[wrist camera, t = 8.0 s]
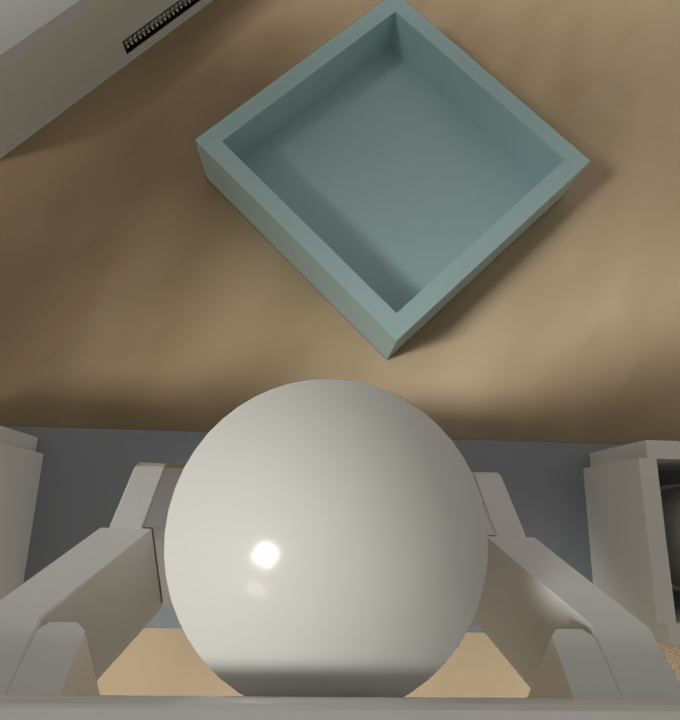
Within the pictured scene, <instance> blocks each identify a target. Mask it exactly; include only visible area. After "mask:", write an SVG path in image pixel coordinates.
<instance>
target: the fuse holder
mask: <svg viewBox="0 0 680 720" xmlns="http://www.w3.org/2000/svg"><path fill="white" fill-rule="evenodd" d="M208 433H209V432H195V431H162V430H128V429H94V428H61V427H27V426H0V600H1V599H3V598H4V597H5V596H7V595H8V594H10V593H11V592H12V591H14V590H15V589H16V588H18V587H19V586H21V585H22V584H23V583H25V582H26V581H28V580H29V579H30V578H32V577H33V576H34V575H36V574H37V573H39V572H40V571H41V570H43V569H44V568H46V567H47V566H48V565H50V564H51V563H52V562H54V561H55V560H57V559H58V558H59V557H61V556H62V555H63V554H65V553H66V552H68V551H69V550H70V549H72V548H73V547H75V546H76V545H77V544H79V543H80V542H81V541H83V540H84V539H86V538H87V537H88V536H90V535H91V534H92V533H94V532H95V531H97V530H98V529H99V528H109V527H110V524H111V522H112V520H113V517H114V515H115V512H116V510H117V508H118V505H119V503H120V501H121V498H122V496H123V493H124V491H125V489H126V486H127V484H128V481H129V479H130V477H131V474H132V472H133V470H134V468H135V467H136V466H137V465H138V464H139V463H140V462H143V463H163V464H168V463H173V464H187V462H188V461H189V459H190V457H191V455H192V454H193V452H194V450H195V449H196V448H197V447H198V445H199V444H200V443H201V441H202V440H203V439H204V438H205V436H206V435H207V434H208ZM451 440H452V441H453V443H454V444H455V446H456V447H457V449H458V450H459V452H460V453H461V455H462V456H463V458H464V459H465V461H466V463H467V465H468V467H469V469H470V471H471V472H492V473H498V474H500V475H501V477H502V479H503V482H504V484H505V486H506V489H507V491H508V494H509V496H510V498H511V501H512V503H513V506H514V508H515V511H516V513H517V515H518V518H519V520H520V523H521V525H522V528H523V530H524V532H525V535H526V537H534V538H536V539H537V540H538V541H540V542H541V543H542V544H543V545H545V546H546V547H547V548H548V549H550V550H551V551H552V552H553V553H555V554H556V555H557V556H558V557H560V558H561V559H562V560H564V561H565V562H566V563H567V564H569V565H570V566H571V567H572V568H574V569H575V570H576V571H577V572H579V573H580V574H581V575H583V576H584V577H585V578H586V579H588V580H589V581H590V582H591V583H593V584H594V585H595V586H596V587H598V588H599V589H600V590H602V591H603V592H604V593H605V594H607V595H608V596H609V597H610V598H612V599H613V600H614V601H615V602H617V603H618V604H619V605H620V606H622V607H623V608H624V609H626V610H627V611H628V612H629V613H631V614H632V615H633V616H634V617H636V618H637V619H638V620H639V621H641V622H642V623H643V624H645V625H646V626H647V627H648V628H650V630H651V632H652V634H653V636H654V638H655V639H656V640H657V641H660V642H663V643H666V644H669V645H680V591H679V590H674V589H672V583H671V575H670V567H669V558H668V550H667V542H666V534H665V525H664V517H663V509H662V501H661V492H660V486H662V485H673V484H680V441H663V440H643V441H639V442H635V443H630V444H600V443H566V442H532V441H499V440H465V439H451ZM144 628H182V626H181V625H180V623H179V620H178V618H177V615H176V612H175V609H174V607H173V605H162V608H161V609H160V610H159V611H158V613H157V614H156V615H155V616H154V617H153V618H152V619H151V620H150V622H149V623H148V624H147V625H146V626H145V627H144ZM467 632H484V631H483V630H482V629H481V627H480V626H479V625H478V624H477V623H476V621H475V620H474V619H473V620H472V622H471V624H470V627H469V628H468V630H467Z"/></svg>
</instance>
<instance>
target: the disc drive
mask: <svg viewBox="0 0 680 720" xmlns="http://www.w3.org/2000/svg"><path fill="white" fill-rule="evenodd" d="M212 1H213V0H0V159H1V158H3V157H4V156H5V155H7V154H8V153H9V152H11V151H12V150H13V149H15V148H16V147H17V146H19V145H20V144H21V143H23V142H24V141H25V140H27V139H28V138H29V137H31V136H32V135H33V134H35V133H36V132H37V131H39V130H40V129H41V128H43V127H44V126H45V125H47V124H48V123H49V122H51V121H52V120H53V119H55V118H56V117H58V116H59V115H60V114H62V113H63V112H64V111H66V110H67V109H68V108H70V107H71V106H72V105H74V104H75V103H76V102H78V101H79V100H80V99H82V98H83V97H84V96H86V95H87V94H88V93H90V92H91V91H92V90H94V89H95V88H96V87H98V86H99V85H100V84H102V83H103V82H104V81H106V80H107V79H108V78H110V77H111V76H113V75H114V74H115V73H117V72H118V71H119V70H121V69H122V68H123V67H125V66H126V65H127V64H129V63H130V62H131V61H133V60H134V59H135V58H137V57H138V56H139V55H141V54H142V53H143V52H145V51H146V50H147V49H149V48H150V47H151V46H153V45H154V44H155V43H157V42H158V41H159V40H161V39H162V38H163V37H165V36H166V35H168V34H169V33H170V32H172V31H173V30H174V29H176V28H177V27H178V26H180V25H181V24H182V23H184V22H185V21H186V20H188V19H189V18H190V17H192V16H193V15H194V14H196V13H197V12H198V11H200V10H201V9H202V8H204V7H205V6H206V5H208V4H209V3H210V2H212Z"/></svg>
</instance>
